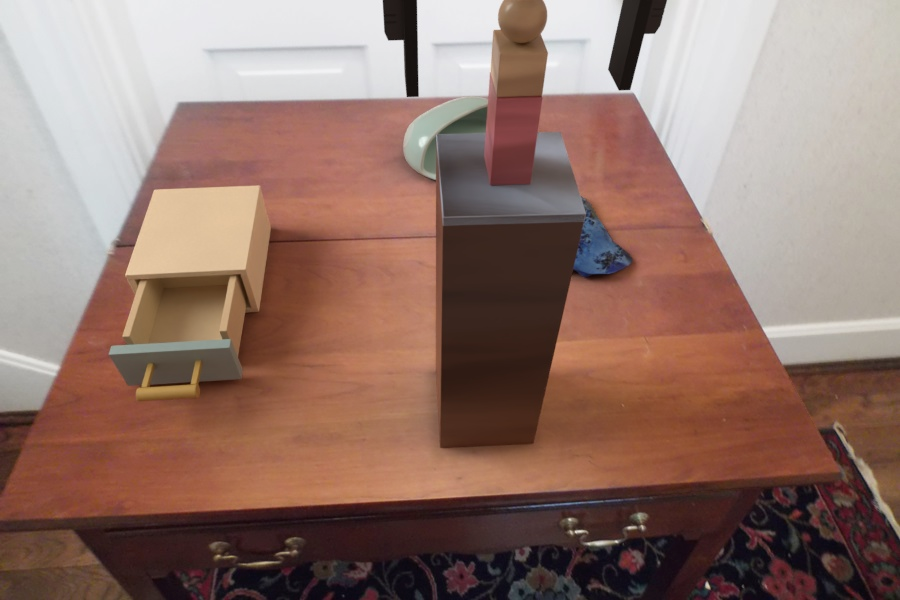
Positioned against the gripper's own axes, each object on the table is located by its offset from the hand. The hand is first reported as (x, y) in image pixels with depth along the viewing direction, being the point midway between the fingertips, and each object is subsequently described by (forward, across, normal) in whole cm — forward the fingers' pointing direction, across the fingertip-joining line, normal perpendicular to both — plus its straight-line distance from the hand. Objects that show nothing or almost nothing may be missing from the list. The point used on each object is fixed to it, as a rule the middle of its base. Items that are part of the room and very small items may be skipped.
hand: (516, 83), depth 42 cm
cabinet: (+40, +33, -24) cm, 57 cm away
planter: (+40, -2, -49) cm, 63 cm away
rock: (+40, -16, -26) cm, 50 cm away
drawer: (+39, +33, -11) cm, 52 cm away
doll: (+8, 0, -1) cm, 8 cm away
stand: (+40, 0, -1) cm, 40 cm away
